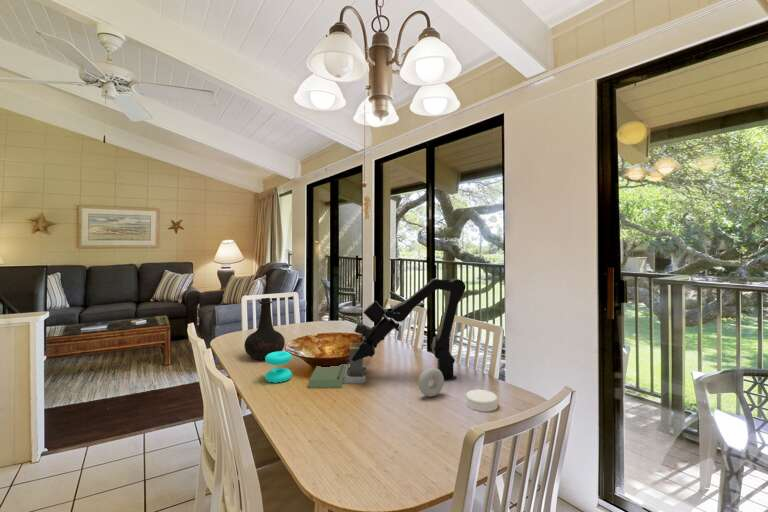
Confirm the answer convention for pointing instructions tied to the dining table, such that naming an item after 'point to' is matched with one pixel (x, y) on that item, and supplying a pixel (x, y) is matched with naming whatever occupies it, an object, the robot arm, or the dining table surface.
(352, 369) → the grey tan rectangular block
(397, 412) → the dining table surface
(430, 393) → the donut
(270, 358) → the donuts
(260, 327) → the dark bulbous vase
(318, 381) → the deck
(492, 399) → the white round disc
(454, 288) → the robot arm
